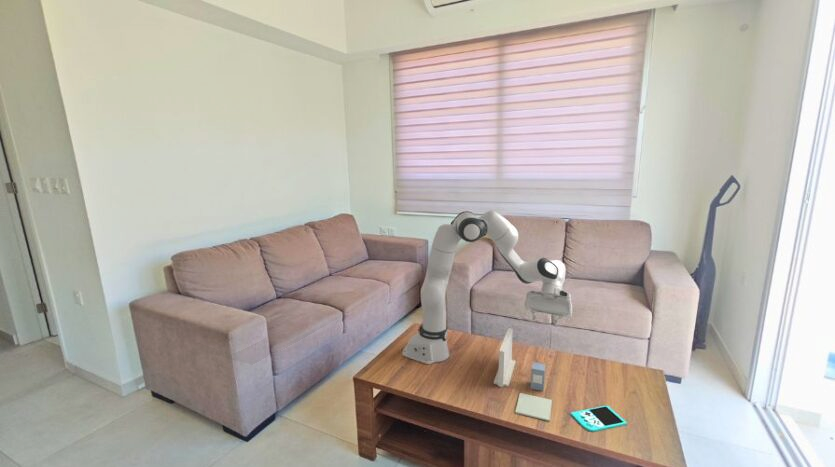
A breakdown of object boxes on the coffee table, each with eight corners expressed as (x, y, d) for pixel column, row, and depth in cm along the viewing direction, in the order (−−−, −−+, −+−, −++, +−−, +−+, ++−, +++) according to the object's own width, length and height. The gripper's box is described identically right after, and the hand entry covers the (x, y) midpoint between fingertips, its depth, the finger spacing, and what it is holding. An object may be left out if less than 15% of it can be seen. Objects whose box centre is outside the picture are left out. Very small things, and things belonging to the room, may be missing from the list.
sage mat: (515, 413, 138) (515, 411, 138) (519, 394, 149) (519, 392, 149) (549, 421, 134) (549, 420, 134) (551, 401, 145) (551, 399, 145)
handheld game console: (569, 414, 138) (570, 411, 138) (606, 407, 142) (607, 404, 141) (588, 434, 128) (588, 430, 128) (627, 425, 132) (627, 422, 132)
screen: (493, 385, 155) (494, 349, 152) (502, 358, 175) (504, 327, 172) (507, 388, 153) (509, 352, 150) (515, 361, 173) (517, 329, 169)
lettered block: (530, 388, 153) (531, 368, 151) (531, 381, 157) (532, 362, 156) (543, 391, 151) (544, 371, 149) (544, 384, 155) (545, 364, 154)
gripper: (526, 287, 173) (519, 314, 167) (573, 294, 162) (568, 324, 156) (529, 293, 178) (522, 320, 172) (575, 300, 167) (569, 329, 161)
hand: (544, 322), depth 164 cm, fingers open, 8 cm apart
